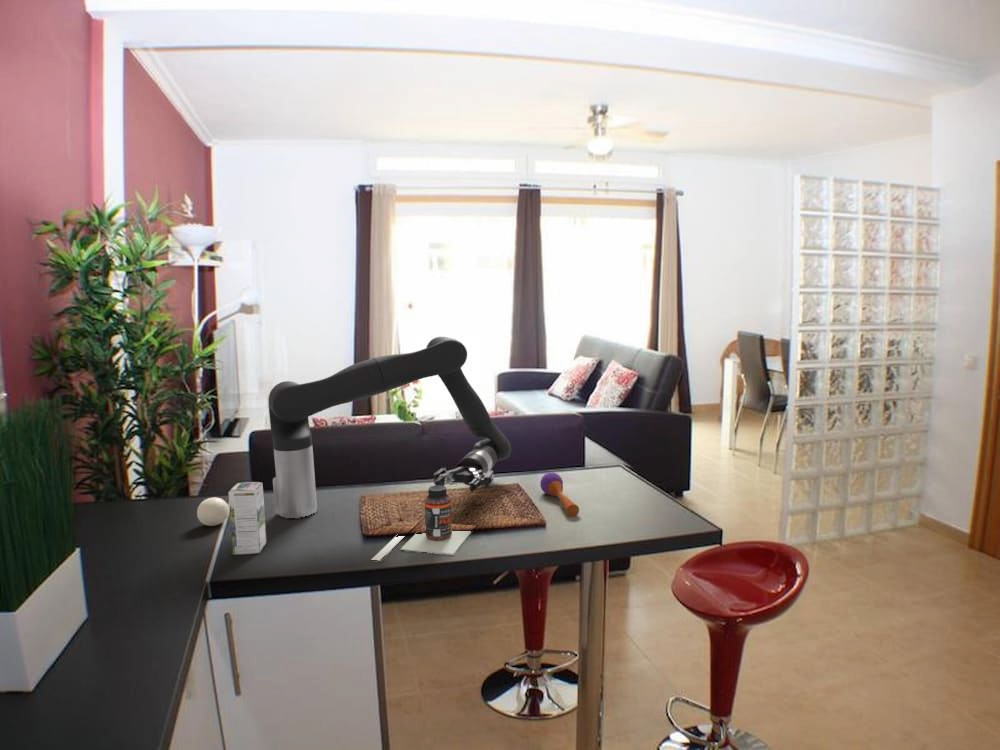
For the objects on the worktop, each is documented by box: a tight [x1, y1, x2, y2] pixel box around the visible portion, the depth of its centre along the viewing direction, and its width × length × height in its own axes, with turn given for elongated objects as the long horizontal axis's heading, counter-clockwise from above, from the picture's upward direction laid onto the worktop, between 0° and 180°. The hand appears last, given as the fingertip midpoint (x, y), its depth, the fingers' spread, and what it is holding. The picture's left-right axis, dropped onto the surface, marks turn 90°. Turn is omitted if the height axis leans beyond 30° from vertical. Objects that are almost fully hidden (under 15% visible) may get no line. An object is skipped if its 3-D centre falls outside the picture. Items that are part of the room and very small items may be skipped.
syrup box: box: [228, 481, 268, 556], centre depth 143 cm, size 6×6×14 cm
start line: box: [371, 535, 406, 562], centre depth 147 cm, size 2×22×1 cm, turn 165°
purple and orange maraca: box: [539, 472, 580, 518], centre depth 168 cm, size 6×6×20 cm
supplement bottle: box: [424, 484, 453, 540], centre depth 147 cm, size 6×6×11 cm
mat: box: [400, 531, 472, 556], centre depth 147 cm, size 12×16×1 cm
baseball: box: [196, 496, 230, 527], centre depth 159 cm, size 7×7×7 cm
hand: (454, 486), depth 156 cm, fingers open, 8 cm apart
